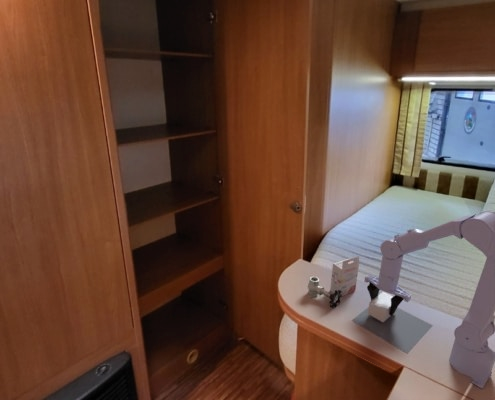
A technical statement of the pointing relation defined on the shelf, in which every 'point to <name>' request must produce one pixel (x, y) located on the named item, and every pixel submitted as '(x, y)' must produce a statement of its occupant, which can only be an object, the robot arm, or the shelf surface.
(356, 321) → the board
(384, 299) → the block
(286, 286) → the shelf surface
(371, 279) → the robot arm
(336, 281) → the ink cartridge box
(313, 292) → the valve
